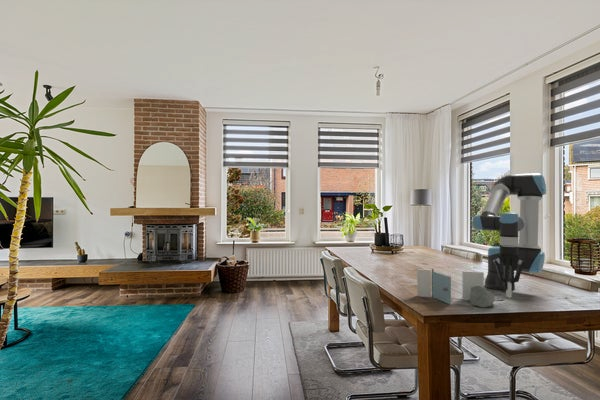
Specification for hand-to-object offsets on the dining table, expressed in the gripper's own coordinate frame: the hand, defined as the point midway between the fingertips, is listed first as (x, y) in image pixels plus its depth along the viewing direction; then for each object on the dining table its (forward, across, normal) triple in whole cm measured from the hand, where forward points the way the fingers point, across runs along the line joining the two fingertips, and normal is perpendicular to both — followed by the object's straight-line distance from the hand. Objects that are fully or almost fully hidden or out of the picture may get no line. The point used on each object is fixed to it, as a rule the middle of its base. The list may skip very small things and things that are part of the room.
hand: (508, 296), depth 161 cm
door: (+5, +30, -2) cm, 30 cm away
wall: (+5, +24, -8) cm, 26 cm away
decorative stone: (+5, +11, 0) cm, 12 cm away
